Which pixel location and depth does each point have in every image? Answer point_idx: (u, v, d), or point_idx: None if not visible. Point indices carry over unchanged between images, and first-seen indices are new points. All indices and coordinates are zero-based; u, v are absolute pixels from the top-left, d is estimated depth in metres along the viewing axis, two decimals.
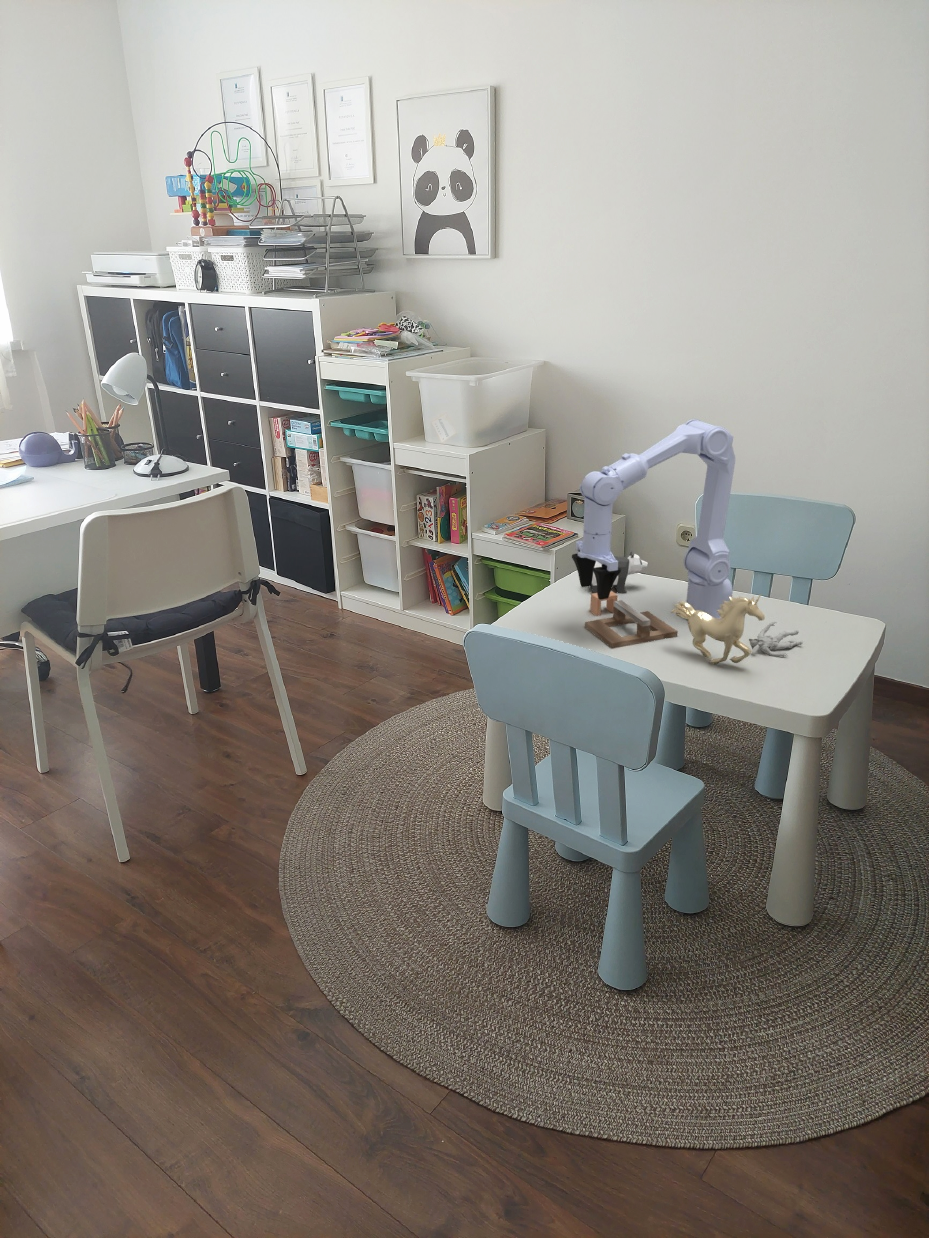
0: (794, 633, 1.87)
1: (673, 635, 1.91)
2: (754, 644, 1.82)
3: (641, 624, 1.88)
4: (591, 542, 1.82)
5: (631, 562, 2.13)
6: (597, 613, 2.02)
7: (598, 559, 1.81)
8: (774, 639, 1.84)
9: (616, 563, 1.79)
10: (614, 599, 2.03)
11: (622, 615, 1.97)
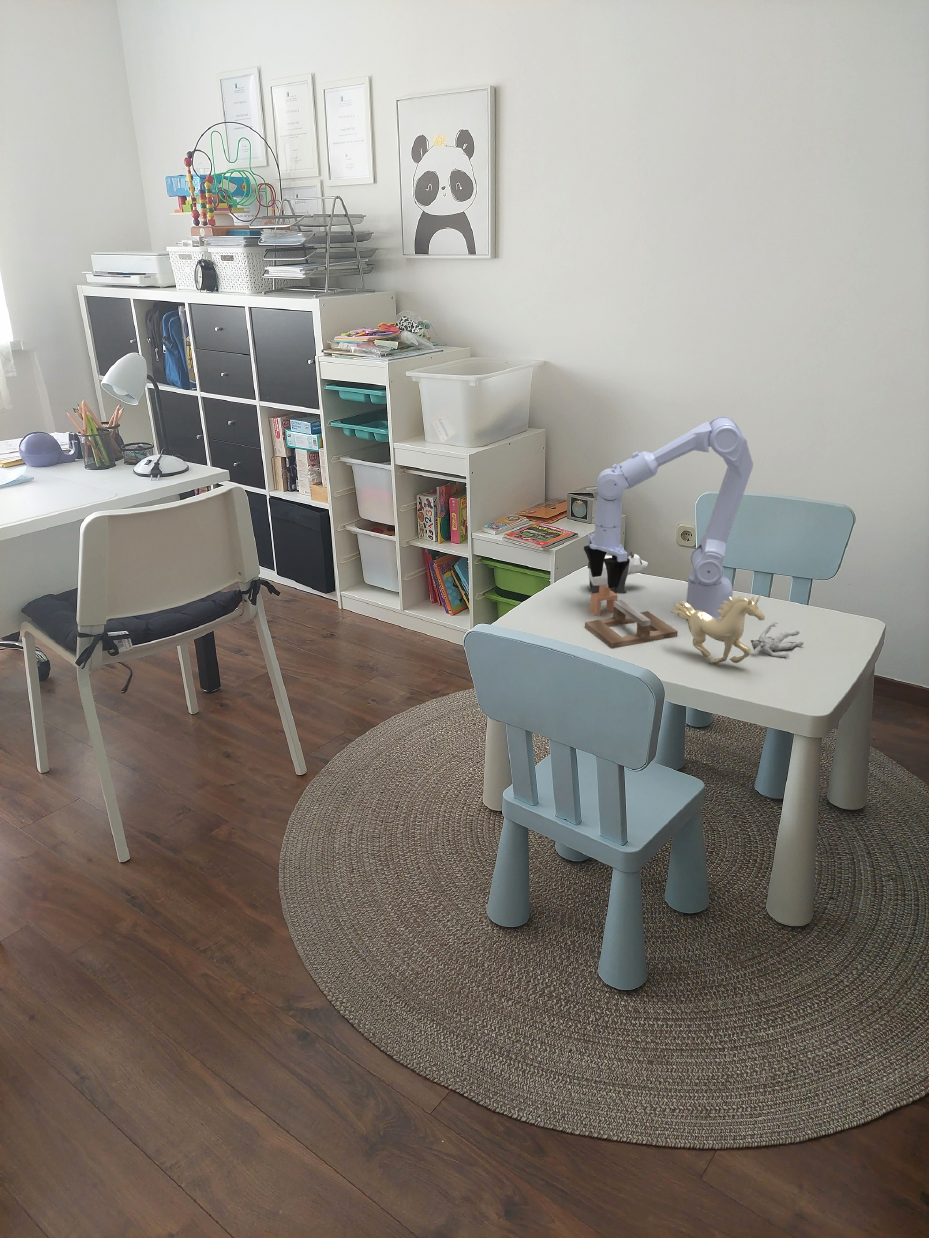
0: (795, 633, 1.87)
1: (673, 635, 1.91)
2: (756, 645, 1.81)
3: (641, 624, 1.88)
4: (602, 535, 1.95)
5: (631, 562, 2.13)
6: (597, 613, 2.02)
7: (609, 550, 1.94)
8: (775, 640, 1.84)
9: (625, 554, 1.92)
10: (614, 599, 2.03)
11: (622, 615, 1.97)
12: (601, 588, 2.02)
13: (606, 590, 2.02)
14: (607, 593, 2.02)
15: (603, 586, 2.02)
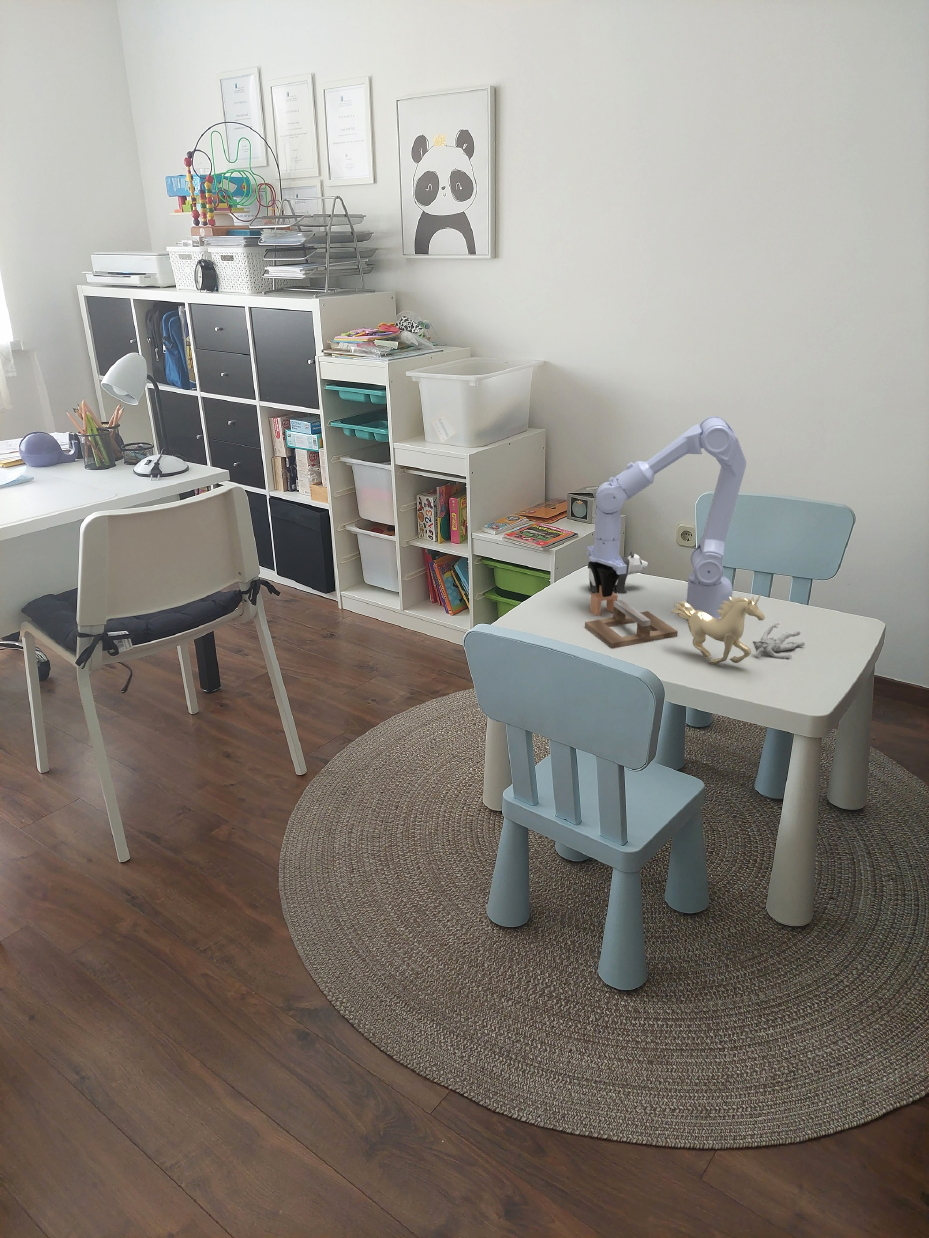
0: (796, 634, 1.87)
1: (673, 635, 1.91)
2: (759, 647, 1.80)
3: (641, 624, 1.88)
4: (601, 547, 1.96)
5: (631, 562, 2.13)
6: (597, 613, 2.02)
7: (608, 563, 1.95)
8: (777, 641, 1.83)
9: (625, 567, 1.93)
10: (614, 599, 2.03)
11: (622, 615, 1.97)
12: None
13: None
14: None
15: None
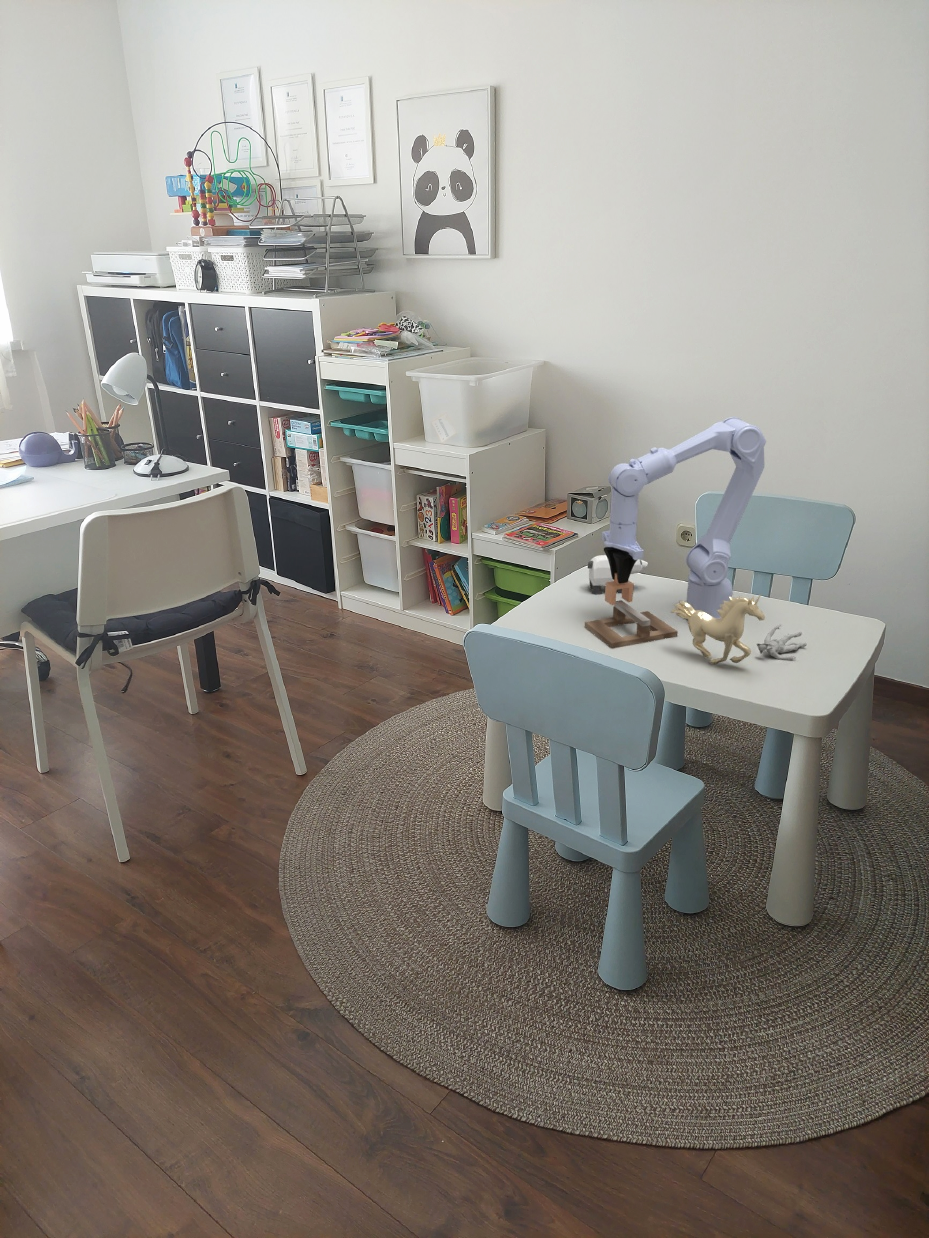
0: (797, 635, 1.86)
1: (673, 635, 1.91)
2: (763, 649, 1.80)
3: (641, 624, 1.88)
4: (617, 532, 1.88)
5: None
6: (612, 602, 1.95)
7: (624, 548, 1.88)
8: (780, 642, 1.83)
9: (642, 552, 1.86)
10: (630, 588, 1.95)
11: (622, 615, 1.97)
12: (616, 576, 1.95)
13: None
14: None
15: None
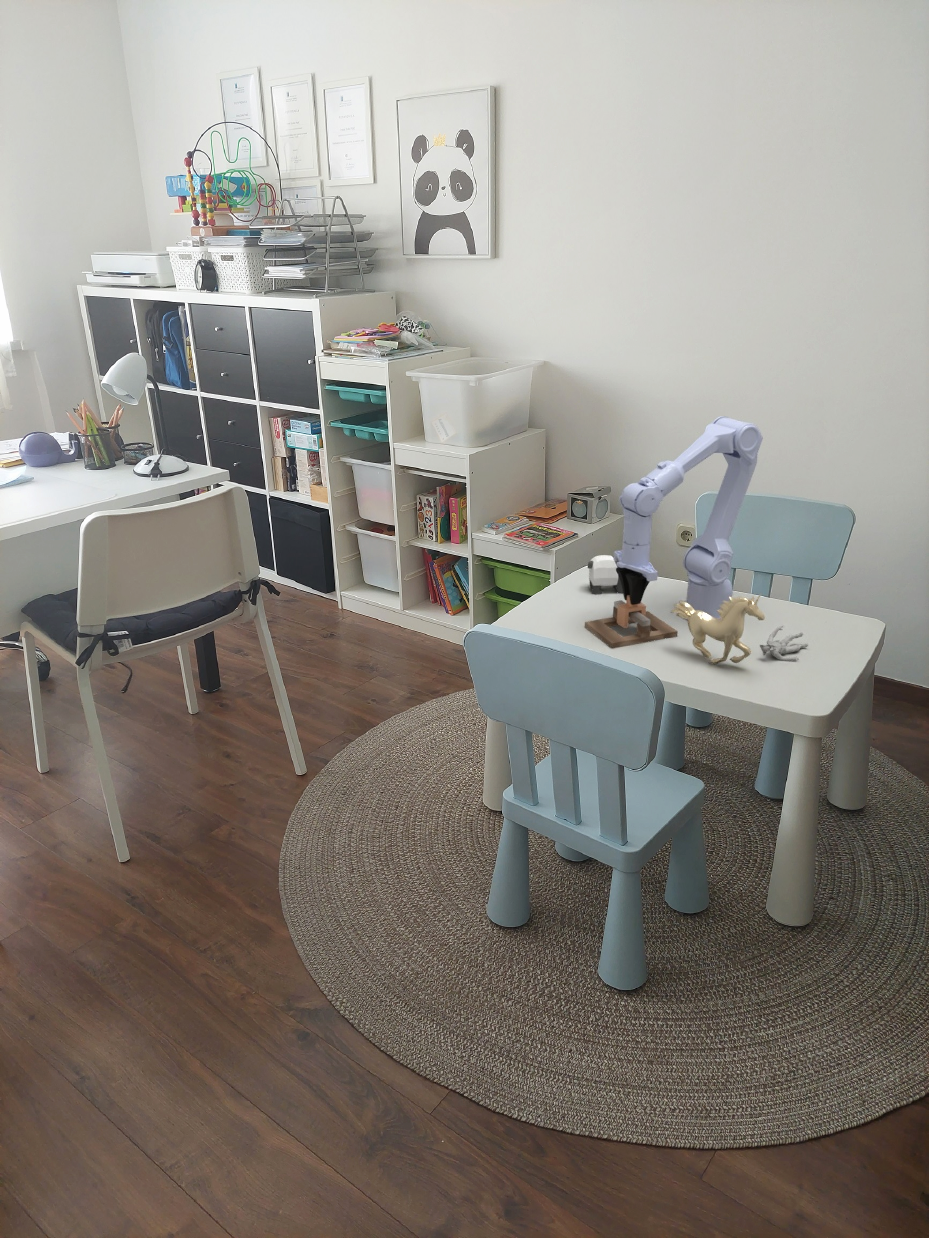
0: (798, 635, 1.86)
1: (673, 635, 1.91)
2: (767, 650, 1.79)
3: (641, 624, 1.88)
4: (630, 552, 1.85)
5: None
6: (624, 625, 1.91)
7: (638, 569, 1.84)
8: (783, 643, 1.82)
9: (656, 573, 1.82)
10: (642, 610, 1.91)
11: None
12: (629, 598, 1.91)
13: None
14: (635, 604, 1.91)
15: None
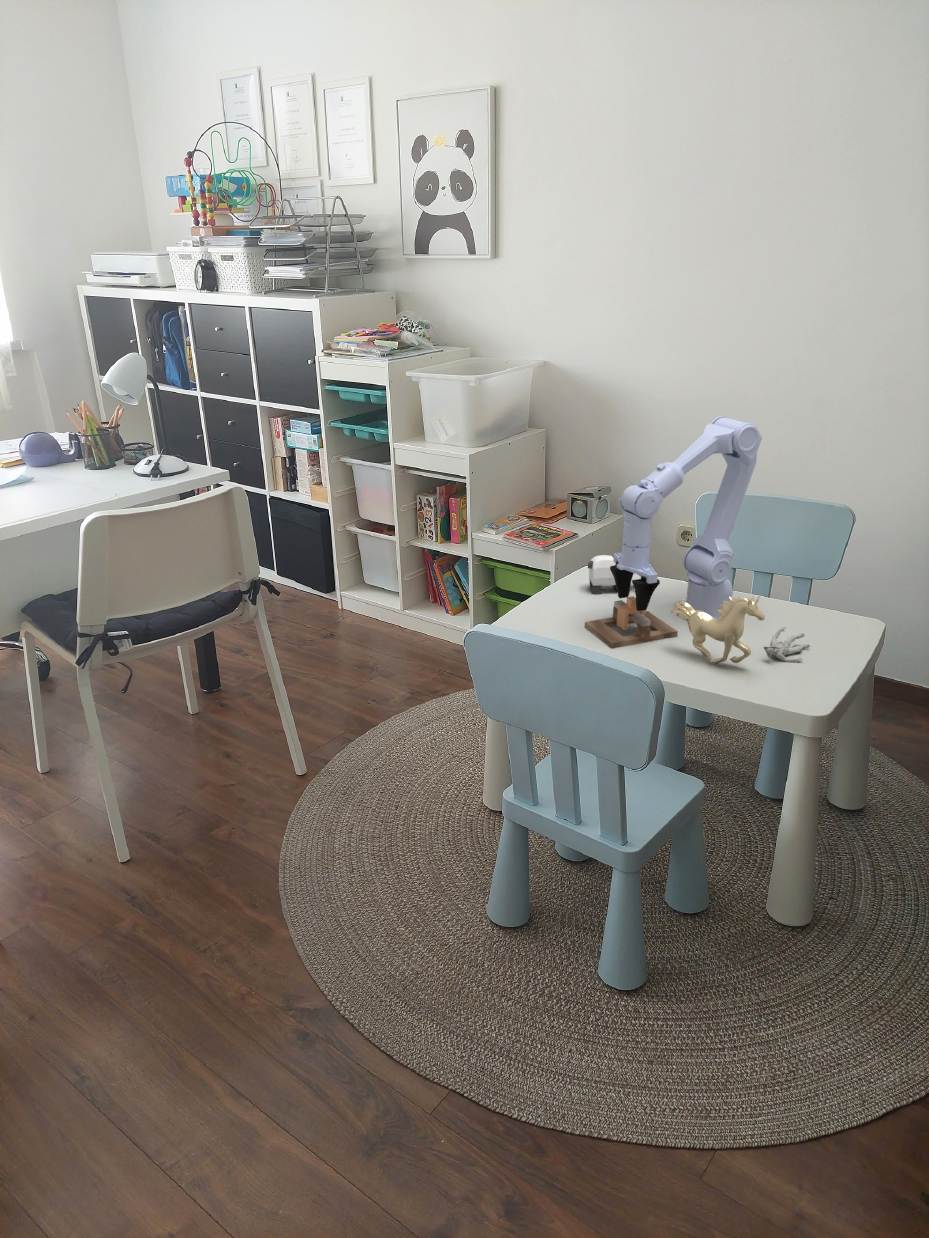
0: (800, 636, 1.86)
1: (673, 635, 1.91)
2: (771, 652, 1.78)
3: (641, 624, 1.88)
4: (630, 555, 1.85)
5: None
6: (624, 627, 1.91)
7: (637, 571, 1.84)
8: (786, 644, 1.82)
9: (656, 575, 1.82)
10: (642, 612, 1.92)
11: None
12: (629, 600, 1.91)
13: (634, 602, 1.91)
14: (635, 606, 1.91)
15: (631, 598, 1.91)
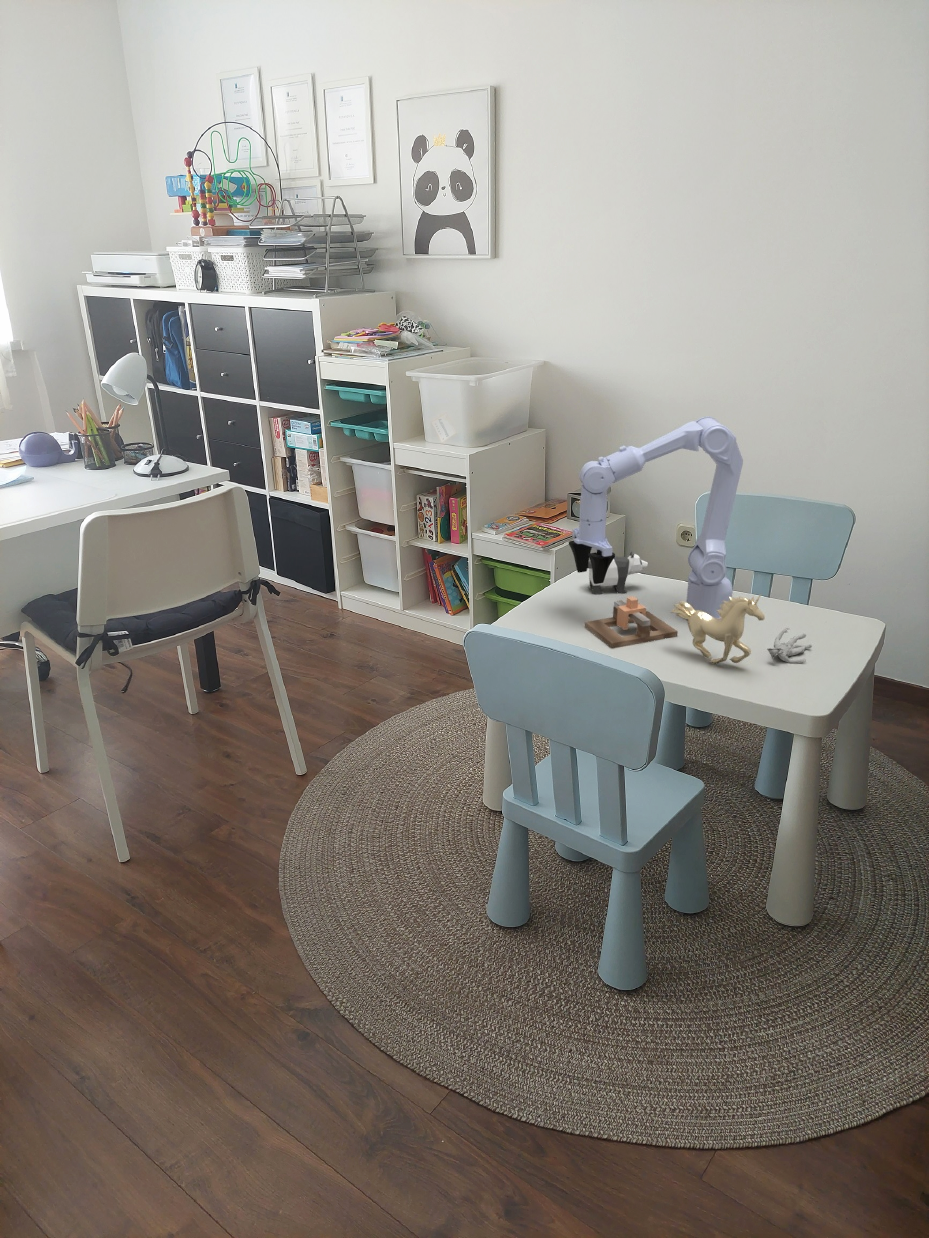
0: (801, 637, 1.85)
1: (673, 635, 1.91)
2: (775, 654, 1.77)
3: (641, 624, 1.88)
4: (586, 529, 1.90)
5: (631, 562, 2.13)
6: (624, 627, 1.91)
7: (593, 545, 1.90)
8: (789, 646, 1.81)
9: (610, 549, 1.88)
10: (642, 612, 1.92)
11: None
12: (629, 600, 1.91)
13: (634, 602, 1.91)
14: (635, 606, 1.91)
15: (631, 598, 1.91)
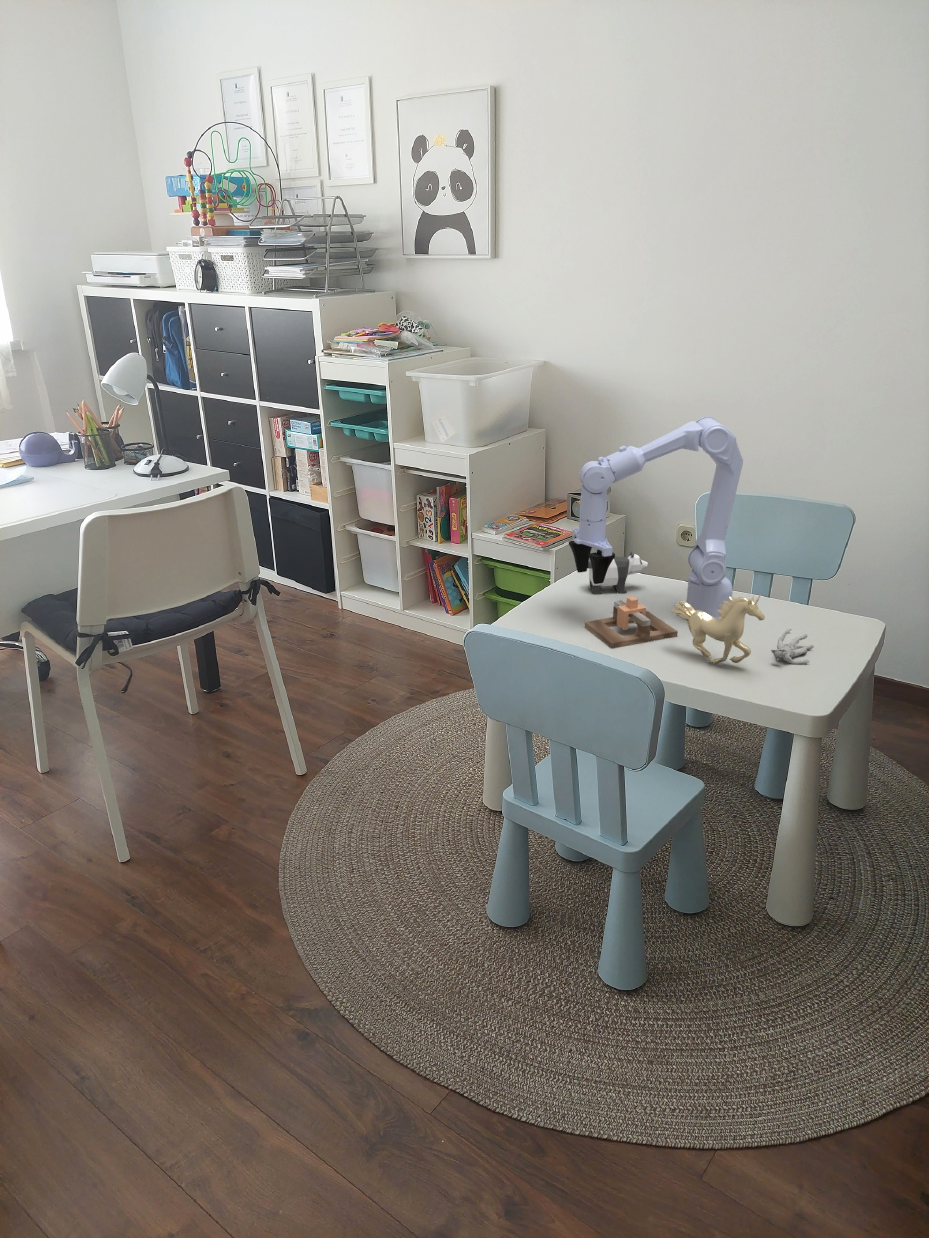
0: (803, 637, 1.85)
1: (673, 635, 1.91)
2: (779, 655, 1.77)
3: (641, 624, 1.88)
4: (586, 529, 1.90)
5: (631, 562, 2.13)
6: (624, 627, 1.91)
7: (593, 545, 1.90)
8: (791, 647, 1.81)
9: (610, 549, 1.88)
10: (642, 612, 1.92)
11: None
12: (629, 600, 1.91)
13: (634, 602, 1.91)
14: (635, 606, 1.91)
15: (631, 598, 1.91)
